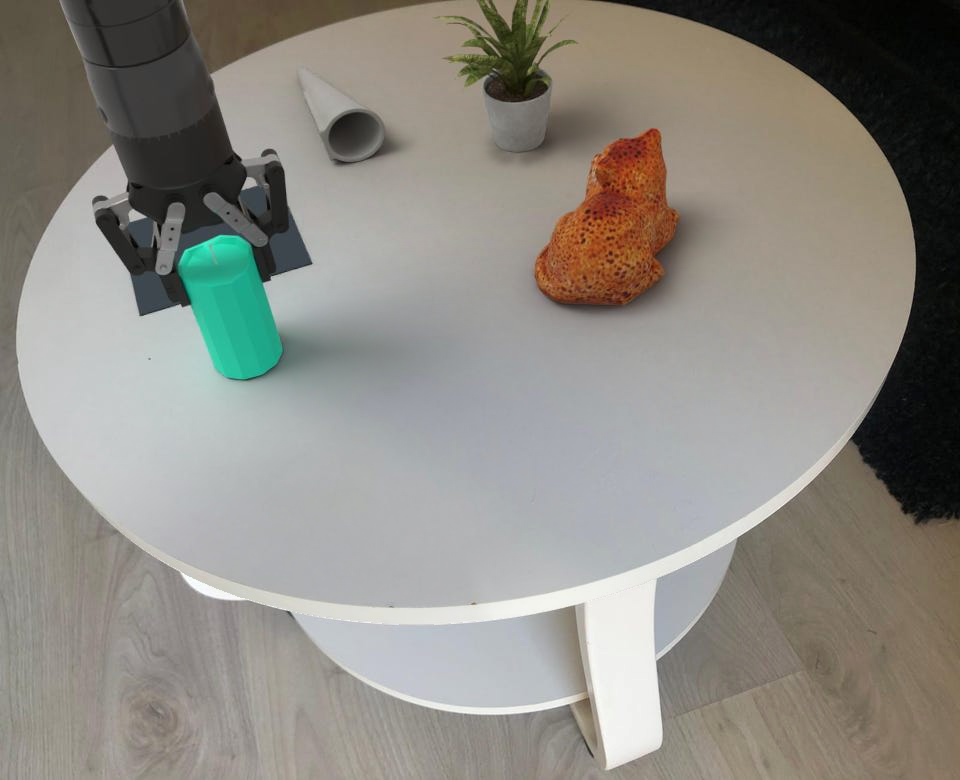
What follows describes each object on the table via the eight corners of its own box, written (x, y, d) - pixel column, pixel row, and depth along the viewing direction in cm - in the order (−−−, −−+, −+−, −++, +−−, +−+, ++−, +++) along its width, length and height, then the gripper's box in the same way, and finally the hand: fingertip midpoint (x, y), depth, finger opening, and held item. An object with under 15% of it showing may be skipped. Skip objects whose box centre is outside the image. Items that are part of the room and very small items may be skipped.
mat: (139, 316, 89) (139, 315, 89) (119, 226, 98) (119, 225, 98) (311, 263, 92) (311, 262, 92) (277, 181, 101) (276, 180, 101)
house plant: (462, 91, 109) (447, -58, 97) (588, 93, 107) (589, -58, 95) (438, 169, 100) (418, 16, 88) (575, 174, 98) (575, 17, 86)
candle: (286, 325, 86) (253, 216, 77) (279, 376, 82) (244, 267, 73) (217, 331, 86) (176, 222, 77) (208, 382, 82) (164, 273, 73)
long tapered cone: (354, 75, 116) (392, 149, 102) (302, 94, 116) (333, 170, 102) (338, 29, 112) (375, 99, 98) (285, 48, 112) (314, 121, 98)
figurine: (591, 196, 95) (592, 104, 88) (697, 225, 91) (708, 132, 84) (516, 295, 87) (511, 203, 79) (630, 333, 83) (636, 239, 75)
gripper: (251, 48, 70) (301, 234, 82) (44, 101, 67) (128, 285, 80) (275, 101, 65) (324, 290, 78) (53, 160, 62) (141, 346, 75)
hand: (224, 287), depth 79 cm, fingers closed on candle, 6 cm apart
